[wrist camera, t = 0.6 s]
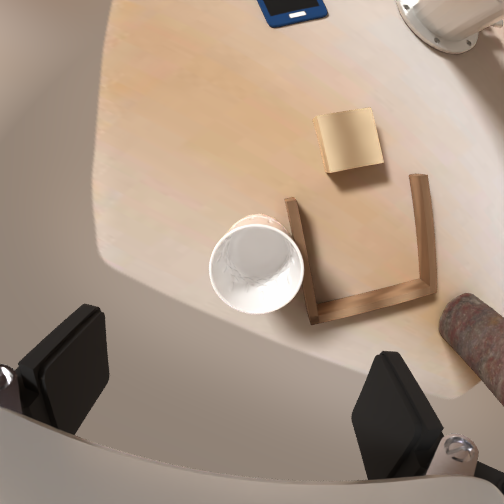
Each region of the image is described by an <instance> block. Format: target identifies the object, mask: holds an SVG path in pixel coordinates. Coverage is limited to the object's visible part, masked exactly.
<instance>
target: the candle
mask: <svg viewBox="0 0 504 504" xmlns="http://www.w3.org/2000/svg"><path fill="white" fill-rule="evenodd" d="M439 331H440V334H441V335H442V337H443V338H444V339H445V340H446V341H447V342H448V343H449V344H450V346H451V347H452V348H453V349H454V350H455V351H456V352H457V353H458V354H459V355H460V356H461V358H462V359H463V360H464V361H465V362H466V363H467V364H468V365H469V366H470V367H471V369H472V370H473V371H474V372H475V373H476V374H477V375H478V376H479V378H480V379H481V380H482V381H483V382H484V384H486V386H487V387H488V388H489V390H490V391H491V392H492V393H493V394H494V395H495V397H496V398H497V399H498V400H499V401H500V403H501V404H502V405H503V406H504V318H503V317H502V316H501V315H500V314H498V313H497V312H496V311H495V310H494V309H492V308H491V307H489V306H488V305H487V304H485V303H484V302H483V301H481V300H480V299H479V298H477V297H476V296H474V295H473V294H470V293H464V294H462V295H460V296H458V297H456V298H455V299H453V300H452V301H451V302H449V303H448V305H447V306H446V308H445V310H444V311H443V314H442V316H441V318H440V324H439Z"/></svg>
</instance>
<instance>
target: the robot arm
mask: <svg viewBox="0 0 504 504" xmlns="http://www.w3.org/2000/svg"><path fill="white" fill-rule="evenodd" d="M396 2H397V6H398V9H399V12H400V13H401V15H402V17H403V19H404V21H405V22H406V23H407V25H408V26H409V27H410V29H411V30H412V31H413V32H414V33H415V34H416V35H417V36H418V37H419V38H421V39H422V40H423V41H424V42H426V43H427V44H429V45H430V46H432V47H434V48H436V49H437V50H440V51H443V52H445V53H451V54H461V53H463V52H466V51H468V50H470V49H471V48H472V47H473V46H474V45H475V44H476V42H477V39H478V34H479V31H480V30H482V29H484V28H486V27H488V26H493V27H498V28H501V27H502V26H503V20H502V19H504V0H396ZM18 365H19V367H18V368H17V369H16V370H14V369H13V368H11V367H10V366H8V365H4V364H0V504H504V473H503V472H501V471H498V470H496V469H494V468H492V467H489V466H487V465H485V464H483V463H481V462H479V461H477V460H478V454H479V451H478V449H477V446H476V445H475V444H474V442H473V441H472V440H470V439H469V438H468V437H466V436H464V435H460V434H448V435H446V436H444V435H443V433H442V430H443V426H442V424H441V423H440V421H439V419H438V417H437V415H436V414H435V412H434V410H433V408H432V407H431V405H430V403H429V401H428V400H427V398H426V396H425V395H424V393H423V391H422V390H421V388H420V386H419V385H418V383H417V381H416V380H415V378H414V376H413V375H412V373H411V371H410V370H409V368H408V367H407V365H406V363H405V362H404V360H403V359H402V357H401V355H400V354H399V353H398V352H391V351H382V352H381V353H380V355H376V356H375V358H374V361H373V363H372V366H371V369H370V371H369V374H368V376H367V379H366V381H365V384H364V386H363V389H362V391H361V393H360V396H359V398H358V400H357V403H356V405H355V407H354V409H353V412H352V423H353V427H354V430H355V434H356V437H357V441H358V445H359V448H360V451H361V455H362V459H363V463H364V466H365V470H366V474H367V478H368V480H357V481H295V480H278V479H264V478H254V477H245V476H236V475H229V474H222V473H215V472H209V471H204V470H198V469H193V468H187V467H183V466H177V465H173V464H168V463H164V462H160V461H156V460H152V459H148V458H144V457H140V456H137V455H133V454H129V453H126V452H122V451H119V450H116V449H113V448H110V447H107V446H104V445H101V444H97V443H95V442H92V441H89V440H86V439H83V438H80V437H78V436H75V433H76V432H77V430H78V428H79V427H80V425H81V424H82V422H83V420H84V419H85V417H86V416H87V414H88V412H89V411H90V410H91V408H92V406H93V405H94V403H95V402H96V400H97V399H98V397H99V395H100V394H101V392H102V391H103V389H104V388H105V386H106V384H107V383H108V380H109V366H108V355H107V342H106V328H105V315H104V313H103V312H101V310H100V308H99V307H96V306H92V305H88V304H83V305H82V306H80V307H79V308H78V309H77V310H76V311H75V312H73V313H72V314H71V315H70V316H69V317H68V318H67V319H65V320H64V321H63V322H62V323H61V324H60V325H59V326H58V327H57V328H55V329H54V330H53V331H52V332H51V333H50V334H49V335H48V336H46V337H45V338H44V339H43V340H42V341H41V342H40V343H39V344H38V345H37V346H36V347H35V348H34V349H33V350H31V351H30V352H29V353H28V354H27V355H26V356H25V357H24V358H23V359H22V360H21V361H20V362H19V363H18Z"/></svg>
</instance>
